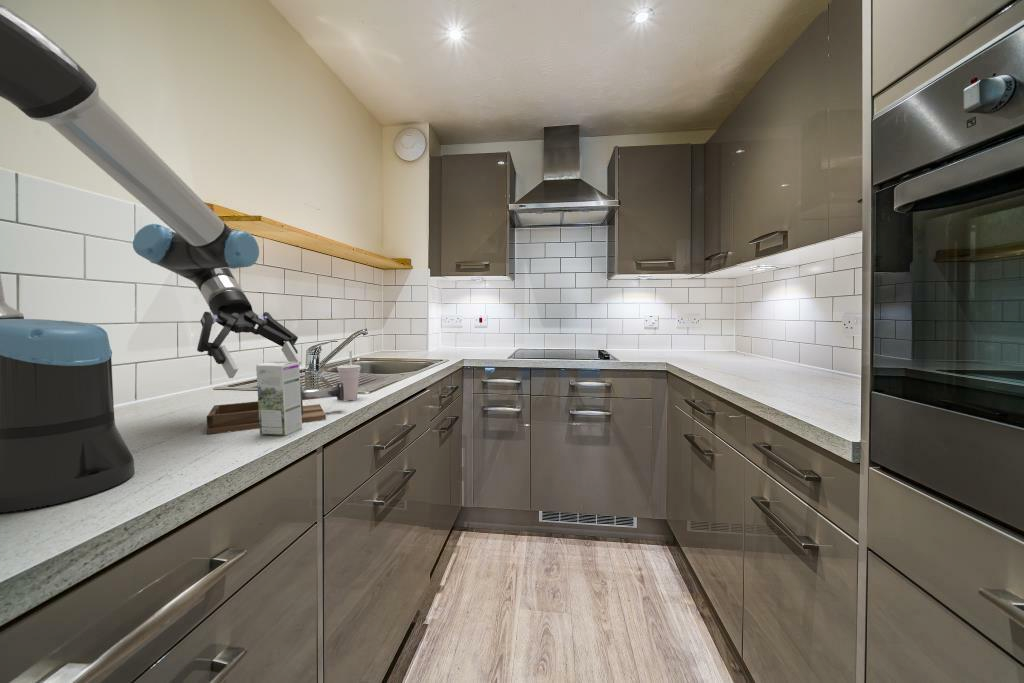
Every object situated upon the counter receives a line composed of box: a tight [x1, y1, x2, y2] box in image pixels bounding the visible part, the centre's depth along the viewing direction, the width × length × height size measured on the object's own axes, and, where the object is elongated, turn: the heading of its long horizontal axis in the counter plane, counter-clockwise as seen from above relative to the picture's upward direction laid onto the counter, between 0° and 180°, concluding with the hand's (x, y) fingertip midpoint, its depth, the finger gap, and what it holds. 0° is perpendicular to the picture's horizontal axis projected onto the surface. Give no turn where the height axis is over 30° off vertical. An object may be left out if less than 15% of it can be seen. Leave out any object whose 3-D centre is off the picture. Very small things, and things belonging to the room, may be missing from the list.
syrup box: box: [255, 361, 303, 436], centre depth 82 cm, size 6×6×14 cm
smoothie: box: [336, 350, 362, 401], centre depth 114 cm, size 6×6×14 cm
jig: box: [206, 382, 327, 435], centre depth 92 cm, size 14×22×8 cm, turn 121°
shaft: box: [302, 382, 344, 401], centre depth 97 cm, size 4×13×4 cm, turn 121°
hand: (268, 369), depth 86 cm, fingers open, 13 cm apart
